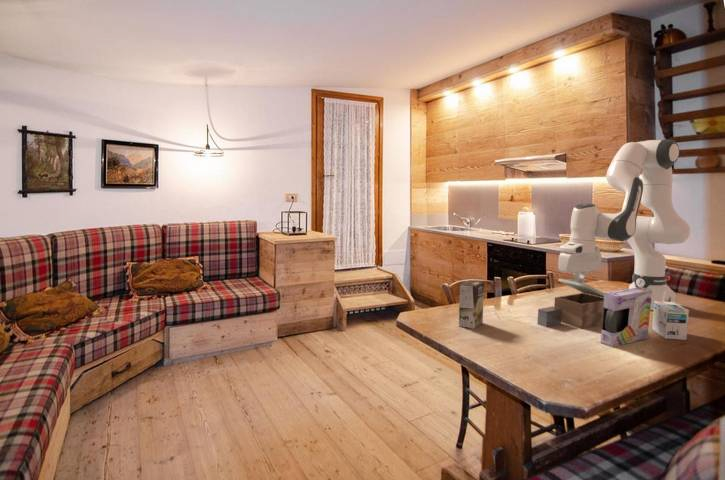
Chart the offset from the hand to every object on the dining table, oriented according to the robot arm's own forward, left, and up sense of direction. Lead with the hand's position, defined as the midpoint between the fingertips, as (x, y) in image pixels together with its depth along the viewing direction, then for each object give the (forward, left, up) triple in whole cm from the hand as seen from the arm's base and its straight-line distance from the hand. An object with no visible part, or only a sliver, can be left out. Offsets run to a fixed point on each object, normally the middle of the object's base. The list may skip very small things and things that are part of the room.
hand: (579, 282), depth 164 cm
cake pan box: (+4, +21, -16) cm, 27 cm away
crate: (-3, 0, -15) cm, 16 cm away
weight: (+11, -3, -16) cm, 20 cm away
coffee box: (+38, -16, -16) cm, 45 cm away
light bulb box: (-17, +24, -16) cm, 33 cm away
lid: (-3, 0, -3) cm, 4 cm away
